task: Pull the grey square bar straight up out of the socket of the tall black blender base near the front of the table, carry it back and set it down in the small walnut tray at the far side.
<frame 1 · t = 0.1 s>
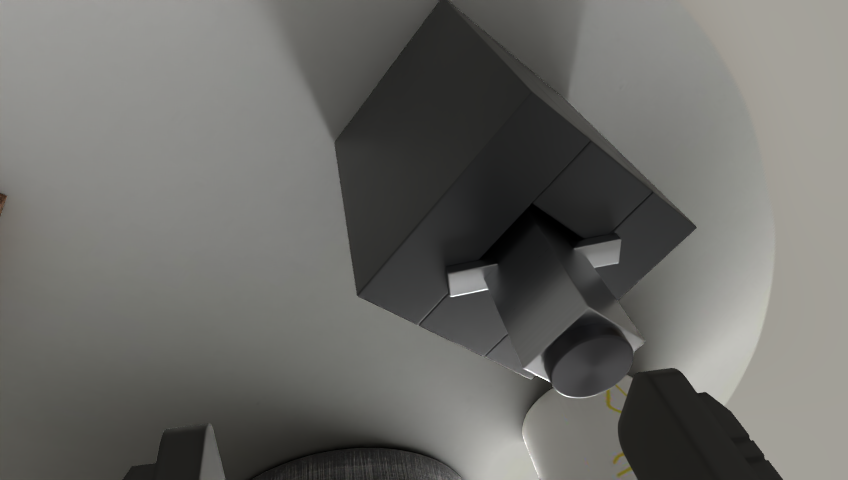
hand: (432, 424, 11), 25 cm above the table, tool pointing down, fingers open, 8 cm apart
white patterned cylinder: (582, 415, 54), on the table
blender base: (452, 121, 35), on the table
grey square bar: (475, 162, 31), point 5 cm above the table, touching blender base
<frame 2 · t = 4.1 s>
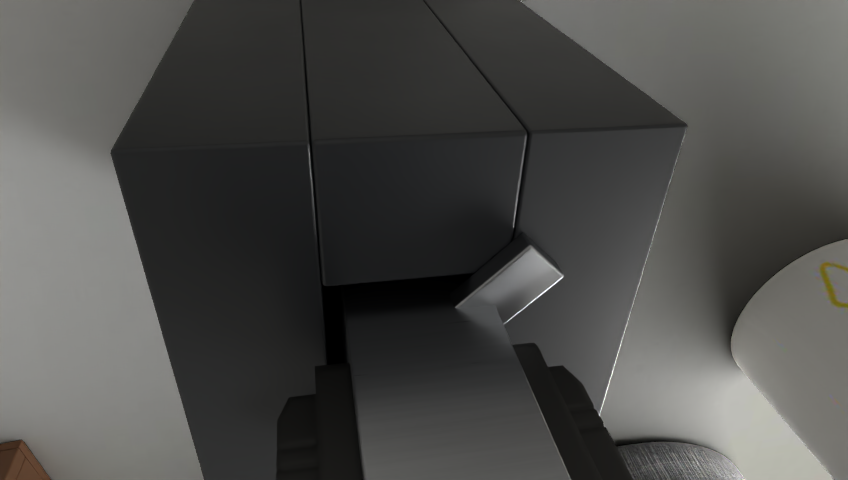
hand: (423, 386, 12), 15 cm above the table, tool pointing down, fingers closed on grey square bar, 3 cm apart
white patterned cylinder: (815, 311, 38), on the table
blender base: (356, 107, 24), on the table
grey square bar: (370, 165, 20), point 5 cm above the table, touching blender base, gripper
when the fingers open (10 cm above the table, at t = 14.6 s): grey square bar stays where it is, resting on tray.
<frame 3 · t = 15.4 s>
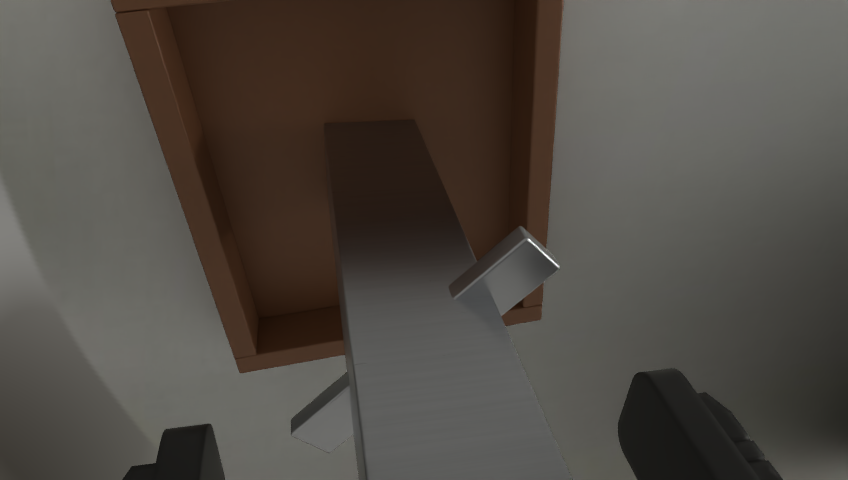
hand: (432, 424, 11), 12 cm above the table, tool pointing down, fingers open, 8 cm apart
grey square bar: (370, 162, 20), resting on tray
tray: (367, 156, 21), on the table
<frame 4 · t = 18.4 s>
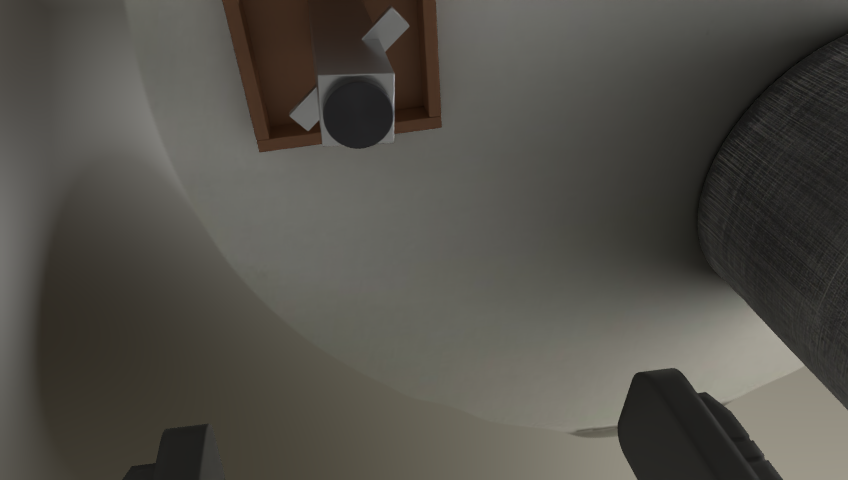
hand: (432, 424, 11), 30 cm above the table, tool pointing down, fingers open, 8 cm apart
planter: (834, 169, 50), on the table
grey square bar: (335, 21, 35), resting on tray
tray: (333, 19, 36), on the table
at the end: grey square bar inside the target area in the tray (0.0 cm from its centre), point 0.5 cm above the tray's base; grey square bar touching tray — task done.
